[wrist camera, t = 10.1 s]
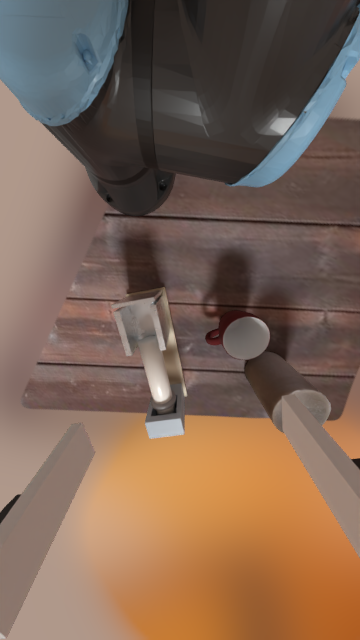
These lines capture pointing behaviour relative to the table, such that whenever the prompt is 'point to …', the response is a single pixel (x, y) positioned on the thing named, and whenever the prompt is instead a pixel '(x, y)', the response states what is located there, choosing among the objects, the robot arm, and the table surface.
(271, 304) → the table surface
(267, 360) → the pillar candle
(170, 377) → the base board
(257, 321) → the mug
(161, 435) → the socket block
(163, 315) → the grey u-shaped bracket
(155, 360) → the slip tube
